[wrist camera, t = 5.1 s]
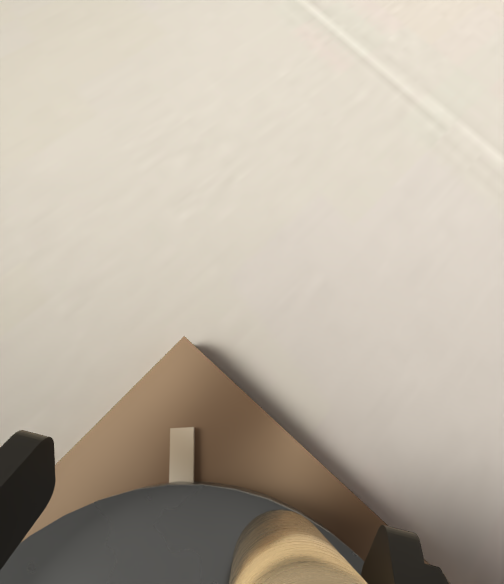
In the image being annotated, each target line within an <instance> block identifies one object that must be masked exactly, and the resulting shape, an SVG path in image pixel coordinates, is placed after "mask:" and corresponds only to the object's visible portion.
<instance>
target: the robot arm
mask: <svg viewBox="0 0 504 584" xmlns="http://www.w3.org/2000/svg"><path fill="white" fill-rule="evenodd" d="M55 480H56V479H55V458H54V441H53V439H52V438H51V437H47V436H43V435H40V434H36V433H32V432H28V431H24V430H21V431H18V432H16V433H15V434H14V435H13V436H12V437H11V438H10V439H9V440H8V441H7V442H6V443H5V444H4V445H3V446H2V447H1V448H0V570H1V569H2V567H3V566H4V565H5V563H6V562H7V560H8V559H9V558H10V556H11V555H12V554H13V552H14V551H15V549H16V548H17V547H18V545H19V544H20V543H21V541H22V540H23V538H24V537H25V536H26V534H27V533H28V532H29V530H30V529H31V527H32V526H33V525H34V523H35V522H36V521H37V519H38V518H39V516H40V515H41V514H42V512H43V511H44V509H45V508H46V506H47V505H48V503H49V501H50V499H51V497H52V494H53V491H54V488H55ZM361 577H362V578H363V579H364V580H365V581H366V582H367V583H368V584H449V583H448V581H447V579H446V578H445V576H444V574H443V573H442V571H441V569H440V568H439V567H436V566H432V565H429V564H425V563H424V558H423V554H422V549H421V545H420V541H419V538H418V536H417V535H416V534H415V533H413V532H409V531H405V530H401V529H397V528H393V527H389V526H386V525H381V526H380V527H379V529H378V531H377V533H376V536H375V538H374V540H373V543H372V545H371V548H370V550H369V552H368V555H367V557H366V560H365V562H364V564H363V567H362V572H361Z"/></svg>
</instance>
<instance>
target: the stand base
mask: <svg viewBox="0 0 504 584" xmlns="http://www.w3.org/2000/svg"><path fill="white" fill-rule="evenodd" d="M55 479H56V480H55V488H54V491H53V494H52V497H51V499H50V501H49V503H48V505H47V506H46V508H45V509H44V511H43V512H42V514H41V515H40V516H39V518H38V519H37V521H36V522H35V523H34V525H33V526H32V527H31V529H30V530H29V532H28V533H27V534H26V536H25V537H24V538H23V540H22V541H21V542H23V541H24V540H25V539H26V538H28V537H29V536H30V535H32V534H34V533H35V532H37V531H39V530H40V529H42V528H44V527H45V526H47V525H49V524H51V523H52V522H54V521H56V520H57V519H59V518H61V517H62V516H64V515H66V514H68V513H71V512H73V511H75V510H78V509H80V508H82V507H84V506H87V505H89V504H91V503H94V502H96V501H98V500H101V499H104V498H108V497H111V496H114V495H118V494H121V493H125V492H128V491H131V490H135V489H138V488H142V487H145V486H150V485H157V484H164V483H171V482H214V483H221V484H228V485H235V486H239V487H243V488H246V489H250V490H253V491H256V492H260V493H263V494H266V495H269V496H271V497H273V498H275V499H277V500H280V501H282V502H284V503H286V504H288V505H291V506H293V507H295V508H296V509H298V510H300V511H301V512H303V513H304V514H306V515H308V516H309V517H311V518H312V519H314V520H315V521H317V522H319V523H320V524H322V525H323V526H324V527H325V528H327V529H328V530H329V531H330V532H331V533H333V534H334V535H335V536H336V537H337V538H339V539H340V540H341V541H342V542H343V543H345V544H346V545H347V546H348V547H349V548H350V549H352V550H353V551H354V552H355V553H356V554H357V555H358V556H359V557H360V558H361V559H362V560H363V561H364V562H365V560H366V557H367V555H368V552H369V550H370V548H371V545H372V543H373V540H374V538H375V536H376V533H377V531H378V529H379V527H380V526H381V525H386V526H388V525H387V524H386V523H385V522H384V521H382V520H381V519H380V518H379V517H378V516H377V515H376V514H375V513H374V512H373V511H372V510H371V509H370V508H368V507H367V506H366V505H365V504H364V503H363V502H362V501H361V500H360V499H359V498H358V497H357V496H356V495H354V494H353V493H352V492H351V491H350V490H349V489H348V488H347V487H346V486H345V485H344V484H343V483H342V482H340V481H339V480H338V479H337V478H336V477H335V476H334V475H333V474H332V473H331V472H330V471H329V470H328V469H327V468H325V467H324V466H323V465H322V464H321V463H320V462H319V461H318V460H317V459H316V458H315V457H314V456H313V455H311V454H310V453H309V452H308V451H307V450H306V449H305V448H304V447H303V446H302V445H301V444H300V443H299V442H297V441H296V440H295V439H294V438H293V437H292V436H291V435H290V434H289V433H288V432H287V431H286V430H285V429H284V428H282V427H281V426H280V425H279V424H278V423H277V422H276V421H275V420H274V419H273V418H272V417H271V416H270V415H268V414H267V413H266V412H265V411H264V410H263V409H262V408H261V407H260V406H259V405H258V404H257V403H256V402H254V401H253V400H252V399H251V398H250V397H249V396H248V395H247V394H246V393H245V392H244V391H243V390H242V389H241V388H239V387H238V386H237V385H236V384H235V383H234V382H233V381H232V380H231V379H230V378H229V377H228V376H227V375H225V374H224V373H223V372H222V371H221V370H220V369H219V368H218V367H217V366H216V365H215V364H214V363H213V362H211V361H210V360H209V359H208V358H207V357H206V356H205V355H204V354H203V353H202V352H201V351H200V350H199V349H197V348H196V347H195V346H194V345H193V344H192V343H191V342H190V341H189V340H188V339H187V338H186V337H185V336H184V337H183V338H182V339H181V340H180V341H179V342H178V343H177V344H176V345H175V346H174V347H173V348H172V349H171V350H170V351H169V352H168V353H167V354H166V355H165V356H164V357H163V358H162V359H161V360H160V361H159V362H158V363H157V364H156V365H155V366H154V367H153V368H152V369H151V370H150V371H149V372H148V373H147V374H146V375H145V376H144V377H143V378H142V379H141V380H140V381H139V382H138V383H137V384H136V385H135V386H134V387H133V388H132V389H131V390H130V391H129V392H128V393H127V394H126V395H125V396H124V397H123V398H122V399H121V400H120V401H119V402H118V403H117V404H116V405H115V406H114V407H113V408H112V409H111V410H110V411H109V412H108V413H107V414H106V415H105V416H104V417H103V418H102V419H101V420H100V421H99V422H98V423H97V424H96V425H95V426H94V427H93V428H92V429H91V430H90V431H89V432H88V433H87V434H86V435H85V436H84V437H83V438H82V439H81V440H80V441H79V442H78V443H77V444H76V445H75V446H74V447H73V448H72V449H71V450H70V451H69V452H68V453H67V454H66V455H65V456H64V457H63V458H62V459H61V460H60V461H59V462H58V463H57V464H56V465H55ZM424 563H425V564H429V563H428V562H427V561H425V560H424ZM429 565H430V564H429ZM448 583H449V582H448ZM449 584H450V583H449Z"/></svg>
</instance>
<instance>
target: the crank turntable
mask: <svg viewBox="0 0 504 584" xmlns="http://www.w3.org/2000/svg"><path fill="white" fill-rule="evenodd" d="M363 564H364V561H363V560H362V559H361V558H360V557H359V556H358V555H357V554H356V553H355V552H354V551H353V550H352V549H350V548H349V547H348V546H347V545H346V544H345V543H343V542H342V541H341V540H340V539H339V538H337V537H336V536H335V535H334V534H333V533H331V532H330V531H329V530H328V529H327V528H325V527H324V526H323V525H322V524H320V523H319V522H317V521H315V520H314V519H312V518H311V517H309V516H308V515H306V514H304V513H303V512H301V511H300V510H298V509H296V508H295V507H293V506H291V505H288V504H286V503H284V502H282V501H280V500H277V499H275V498H273V497H271V496H269V495H266V494H263V493H260V492H256V491H253V490H250V489H246V488H243V487H239V486H235V485H228V484H221V483H214V482H171V483H164V484H157V485H150V486H145V487H142V488H138V489H135V490H131V491H128V492H125V493H121V494H118V495H114V496H111V497H108V498H104V499H101V500H98V501H96V502H94V503H91V504H89V505H87V506H84V507H82V508H80V509H78V510H75V511H73V512H71V513H68V514H66V515H64V516H62V517H61V518H59V519H57V520H56V521H54V522H52V523H51V524H49V525H47V526H45V527H44V528H42V529H40V530H39V531H37V532H35V533H34V534H32V535H30V536H29V537H28V538H26V539H25V540H24V541H23V542H21V543H20V544H19V545H18V547H17V548H16V549H15V551H14V552H13V554H12V555H11V556H10V558H9V559H8V560H7V562H6V563H5V565H4V566H3V567H2V569H1V570H0V584H368V583H367V582H366V581H365V580H364V579H363V578H362V577H361V572H362V567H363Z"/></svg>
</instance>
